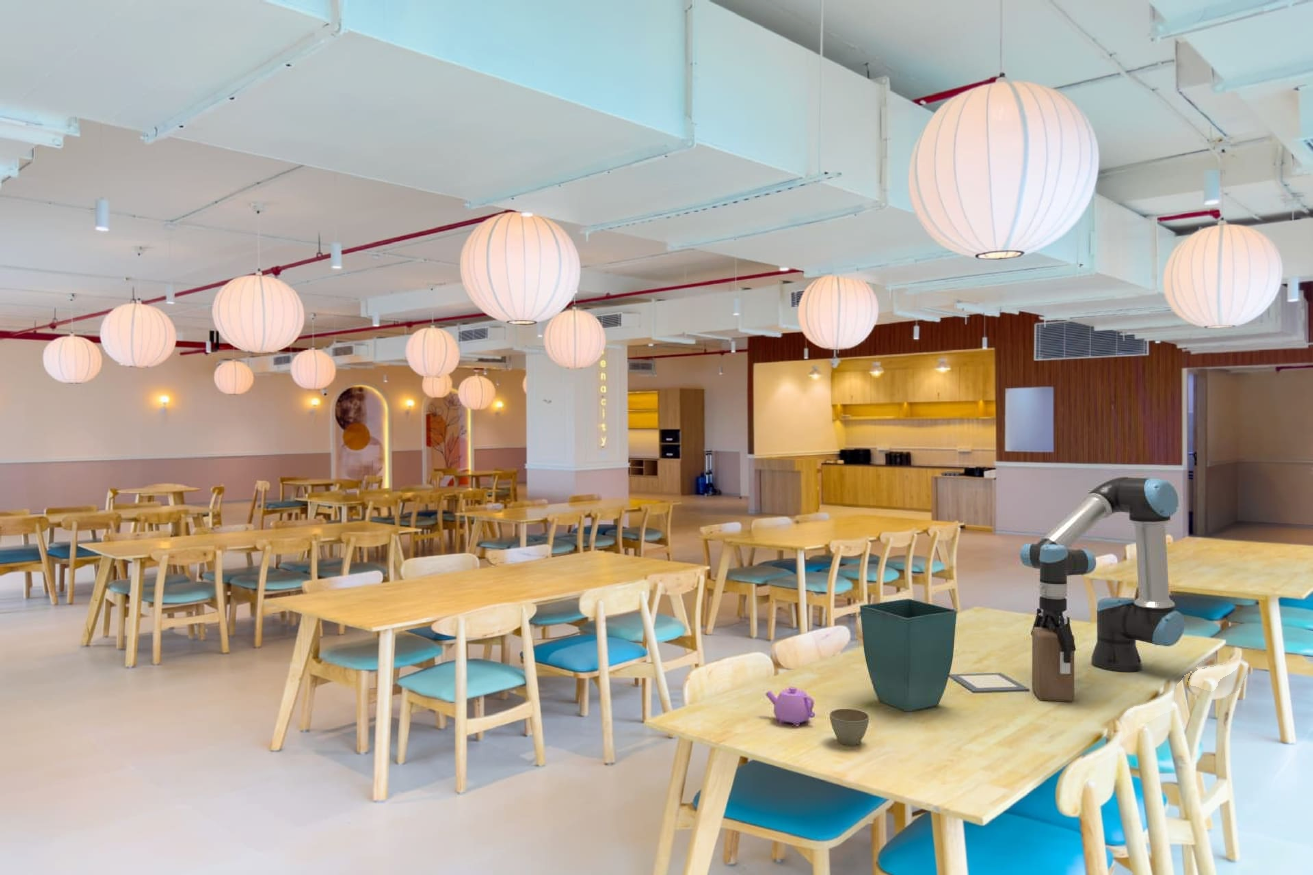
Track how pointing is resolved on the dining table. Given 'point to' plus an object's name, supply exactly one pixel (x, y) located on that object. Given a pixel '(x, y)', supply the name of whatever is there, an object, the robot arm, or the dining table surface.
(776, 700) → the teapot
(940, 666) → the flower pot
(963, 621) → the dining table surface
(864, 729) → the bowl
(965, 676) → the mat
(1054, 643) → the wooden block
